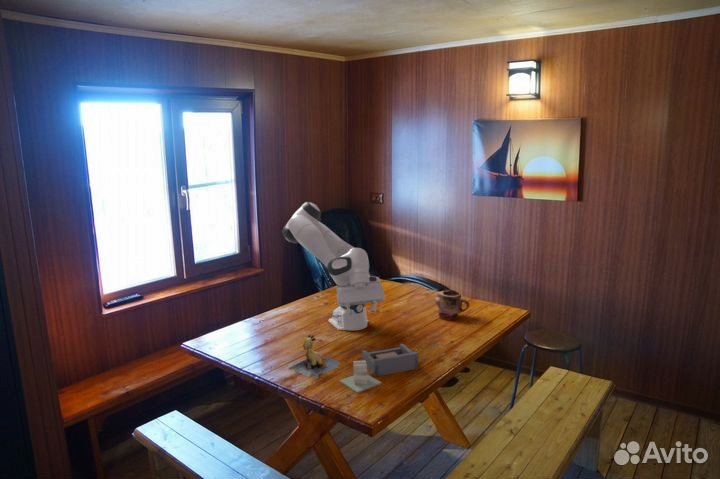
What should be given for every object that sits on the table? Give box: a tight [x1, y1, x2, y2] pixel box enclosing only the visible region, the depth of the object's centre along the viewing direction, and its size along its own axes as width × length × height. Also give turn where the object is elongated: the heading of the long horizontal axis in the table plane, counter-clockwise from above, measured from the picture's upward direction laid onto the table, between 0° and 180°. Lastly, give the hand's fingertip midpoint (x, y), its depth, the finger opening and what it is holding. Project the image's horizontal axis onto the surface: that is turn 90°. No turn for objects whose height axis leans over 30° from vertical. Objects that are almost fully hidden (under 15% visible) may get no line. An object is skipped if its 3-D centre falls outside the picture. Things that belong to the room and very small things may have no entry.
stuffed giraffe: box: [288, 333, 342, 380], centre depth 227 cm, size 16×18×16 cm
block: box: [352, 360, 368, 385], centre depth 212 cm, size 4×5×8 cm
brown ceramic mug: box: [433, 289, 470, 321], centre depth 281 cm, size 20×12×14 cm, turn 60°
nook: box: [361, 343, 419, 378], centre depth 228 cm, size 16×20×7 cm
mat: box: [339, 373, 382, 394], centre depth 213 cm, size 12×12×1 cm
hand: (362, 313), depth 220 cm, fingers open, 8 cm apart
